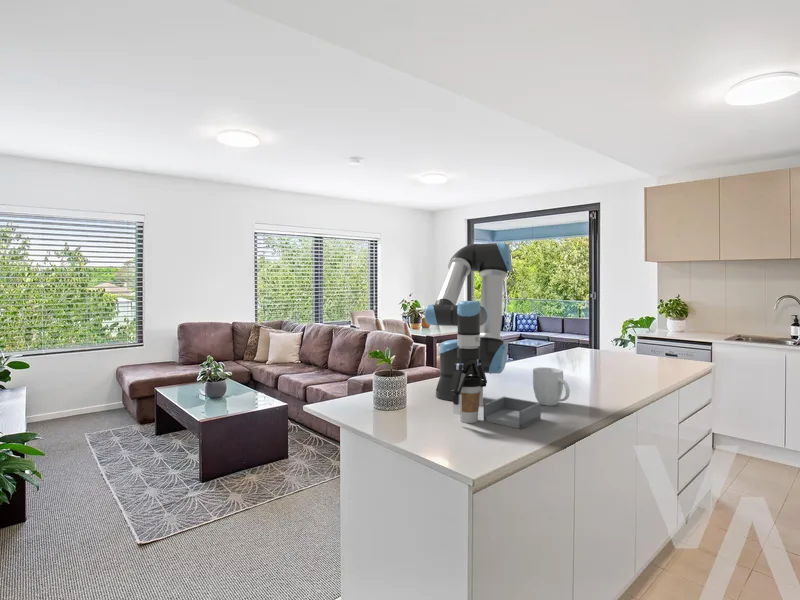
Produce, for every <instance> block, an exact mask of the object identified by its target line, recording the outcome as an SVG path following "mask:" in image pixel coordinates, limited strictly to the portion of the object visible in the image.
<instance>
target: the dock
mask: <svg viewBox="0 0 800 600" xmlns="http://www.w3.org/2000/svg"><path fill="white" fill-rule="evenodd" d="M541 407H542V405H541V403H538V401H537V402H536V401H531V400H526V399H520V398H515V397H509V396H501V397H499V398H496V399H493V400H492V401H489V402H486V403H483V421H484V422H487V423H493V424H495V425H496V424H497V425H502V426H507V427H512V428H515V429H520V430H523V429H525V428H527V427H530V426H531V425H532V424H534V423H536V422H538V421H540V420H541V418H542V417H541V416H542V413H541V412H542V408H541Z"/></svg>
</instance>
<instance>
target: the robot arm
mask: <svg viewBox="0 0 800 600" xmlns="http://www.w3.org/2000/svg"><path fill="white" fill-rule="evenodd" d="M512 262H513V261H512V254H511V250H510V246H509V244H507V243H505V242H493V243H491V242H489V243H470V244H467V245H465V246H463V247H462V248H460V249H459V250H457V251H456V252H455V253H454V254H453V256H451V258H450V260H449V262H448V267H447V269H448V272H447V274H446V276H445V279H444V281H443V284H442V286H441V289H440V291H439V293H438V295H437V299H436V301H435V303H434V304H428V305H426V307H425V310H424V320H425V323H426V324H427V325H429V326H447V327H448V326H449V327H450V326H451V327H454V326H455V327H457V334H456V335H457V339H450V340H449V339H448V340H444V341H442V342H441V343H440V346H439V352H438V353H439V380H438V381H437V384H436V385H437V386H436V389H435V397H436V398H437V399H440V400H445V401H452V404H453V406H452V407H453V410H452V411H453V414H454V415H455V414H456V415H459V416H460V415H461V414H462V395H461V394H460V392H461V390H462V387H463V385H464V383H465V380H466V378H467V377H468V376H480V379H481V386H480V399H479V407H484V387H485V388H486V387H487V383H488V380H487V376H486V374H489V375H492V374H501V373H502V372H503V371H504V370H505V367H506V364H507V359H508V350H509V349H508V346H507V344H505V342H504V339H503V338H502V336H501V327H502V326H501V325H502V308H503V307H502V306H503V291H504V280H505V279H506V277H508V272H511V271H512V269H513V265H512V264H513V263H512ZM471 272H478V276H479V277H480V278H481V291H480V302H479V301H478V300H460V301H458V300H459V297H460V294H461V291H462V290H463V289H462V288H463V285H464V283H465V281H466V277H468V276H469V275H470V273H471ZM456 304H457V305H456ZM457 390H458V391H457Z"/></svg>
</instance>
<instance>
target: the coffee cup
mask: <svg viewBox="0 0 800 600" xmlns="http://www.w3.org/2000/svg"><path fill="white" fill-rule="evenodd" d="M480 386H481V379H480V376H472V375H469V376H468V377H467V378H466V380H465V383H464V385H463V387H462V390H461V392H460V394H461V395H462V414H461V415H459V421H460V422H461V423H465V424H474V423H477V422H478V421H479V420H478V419H479V417H478V416H479V409H480V408H479V407H480V406H479V399H480ZM457 391H458V390H457Z"/></svg>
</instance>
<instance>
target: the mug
mask: <svg viewBox="0 0 800 600" xmlns="http://www.w3.org/2000/svg"><path fill="white" fill-rule="evenodd" d="M532 385H533V386H532V387H533V391H534V392H533V393H534V397H535V399H536V400H537V402H538V403H541V406H547V407H551V406H552V407H554V406H557V405H558V403H559V402H564V401H567V400H568V399H569V397H570V393H571V392H570V386H569V384H568V382H567V381H566V380H565V379H564V370H563V369H560V368H558V367H557V368H556V367H548V366H546V367H545V366H544V367H543V366H541V367H535V368H534V367H533V369H532ZM563 388H565V395H564V397H563V398H562V394H563Z"/></svg>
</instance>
